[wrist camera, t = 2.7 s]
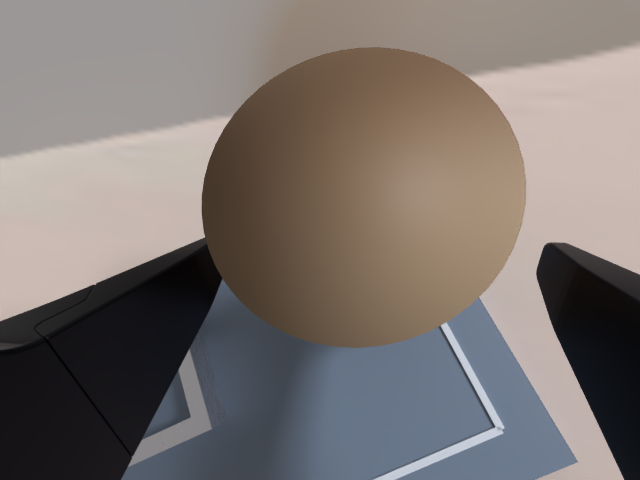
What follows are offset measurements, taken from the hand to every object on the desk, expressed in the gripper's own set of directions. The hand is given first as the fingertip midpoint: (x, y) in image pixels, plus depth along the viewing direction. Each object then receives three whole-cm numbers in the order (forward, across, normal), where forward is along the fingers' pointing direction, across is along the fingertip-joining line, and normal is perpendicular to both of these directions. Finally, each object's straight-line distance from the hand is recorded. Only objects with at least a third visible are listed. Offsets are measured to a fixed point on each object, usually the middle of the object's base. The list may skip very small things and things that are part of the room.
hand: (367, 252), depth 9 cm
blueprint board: (+2, +5, +9) cm, 11 cm away
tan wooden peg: (+5, 0, +5) cm, 7 cm away
